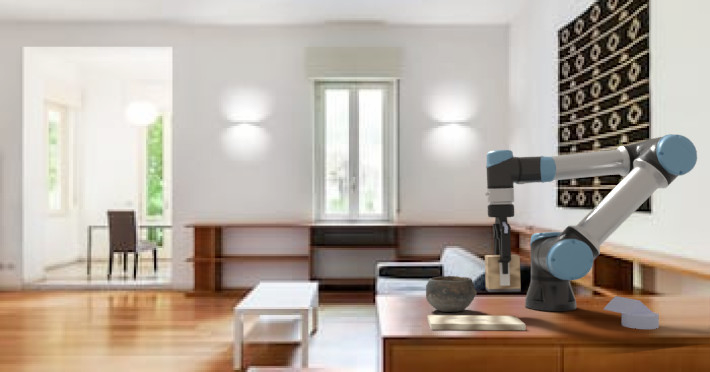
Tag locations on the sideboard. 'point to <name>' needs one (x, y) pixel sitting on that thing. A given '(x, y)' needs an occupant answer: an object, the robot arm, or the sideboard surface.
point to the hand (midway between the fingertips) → (502, 283)
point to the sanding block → (494, 274)
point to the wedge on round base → (634, 313)
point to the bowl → (450, 293)
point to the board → (474, 322)
